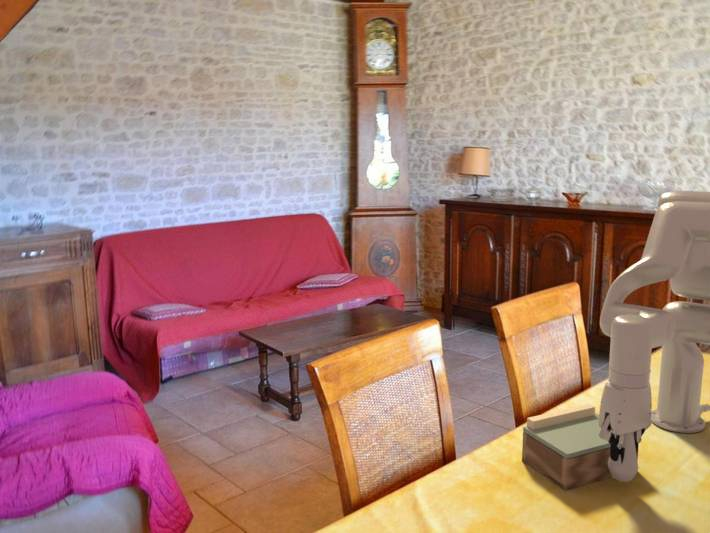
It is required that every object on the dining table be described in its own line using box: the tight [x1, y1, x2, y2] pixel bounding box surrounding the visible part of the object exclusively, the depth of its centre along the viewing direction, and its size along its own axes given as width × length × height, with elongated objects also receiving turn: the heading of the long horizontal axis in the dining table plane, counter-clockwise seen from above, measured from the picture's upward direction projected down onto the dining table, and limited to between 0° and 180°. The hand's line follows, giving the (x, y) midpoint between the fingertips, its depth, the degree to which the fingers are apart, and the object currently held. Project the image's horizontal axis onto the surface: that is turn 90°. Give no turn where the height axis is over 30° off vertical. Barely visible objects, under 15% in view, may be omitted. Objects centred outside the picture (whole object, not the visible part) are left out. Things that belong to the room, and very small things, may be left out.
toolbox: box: [521, 431, 613, 492], centre depth 142 cm, size 20×14×7 cm
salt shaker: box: [608, 430, 639, 483], centre depth 131 cm, size 6×6×13 cm
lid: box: [522, 403, 616, 459], centre depth 141 cm, size 20×14×3 cm
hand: (623, 460), depth 131 cm, fingers closed on salt shaker, 3 cm apart
